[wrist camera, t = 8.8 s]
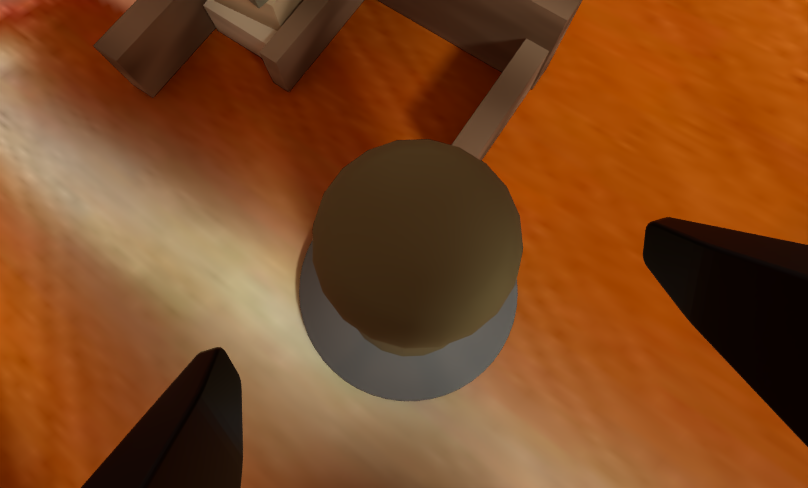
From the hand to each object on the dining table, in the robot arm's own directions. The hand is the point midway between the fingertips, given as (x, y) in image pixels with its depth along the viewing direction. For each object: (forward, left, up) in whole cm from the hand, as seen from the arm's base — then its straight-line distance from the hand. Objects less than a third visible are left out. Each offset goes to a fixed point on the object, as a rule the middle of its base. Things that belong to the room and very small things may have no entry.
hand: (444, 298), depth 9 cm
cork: (+1, +1, -11) cm, 11 cm away
